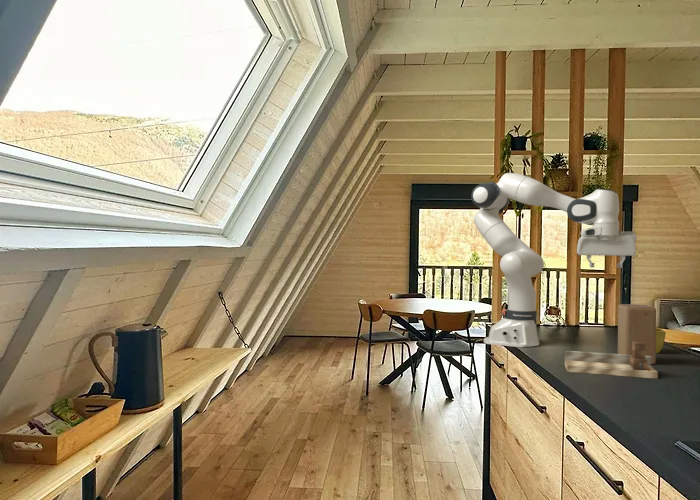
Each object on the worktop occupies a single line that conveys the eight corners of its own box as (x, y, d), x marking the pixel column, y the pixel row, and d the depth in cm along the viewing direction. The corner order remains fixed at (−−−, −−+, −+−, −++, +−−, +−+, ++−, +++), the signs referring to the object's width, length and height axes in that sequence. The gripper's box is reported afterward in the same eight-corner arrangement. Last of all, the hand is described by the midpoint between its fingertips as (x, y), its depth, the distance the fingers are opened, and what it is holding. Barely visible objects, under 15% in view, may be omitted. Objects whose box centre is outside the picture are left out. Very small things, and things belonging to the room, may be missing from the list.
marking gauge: (633, 369, 164) (634, 343, 164) (629, 364, 170) (629, 340, 170) (648, 370, 162) (648, 344, 162) (643, 365, 169) (643, 341, 169)
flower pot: (660, 350, 206) (660, 328, 206) (665, 355, 198) (666, 331, 197) (635, 349, 209) (635, 326, 209) (639, 353, 200) (640, 330, 200)
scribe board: (567, 371, 169) (567, 356, 169) (564, 365, 178) (564, 350, 178) (657, 378, 161) (657, 362, 161) (650, 371, 170) (650, 356, 170)
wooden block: (656, 365, 180) (657, 307, 180) (625, 363, 182) (626, 306, 182) (646, 359, 190) (646, 304, 190) (616, 357, 192) (617, 303, 192)
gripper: (634, 231, 197) (634, 267, 197) (576, 231, 203) (576, 266, 203) (638, 231, 191) (638, 268, 191) (578, 231, 197) (577, 267, 197)
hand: (605, 267), depth 197 cm, fingers open, 8 cm apart
